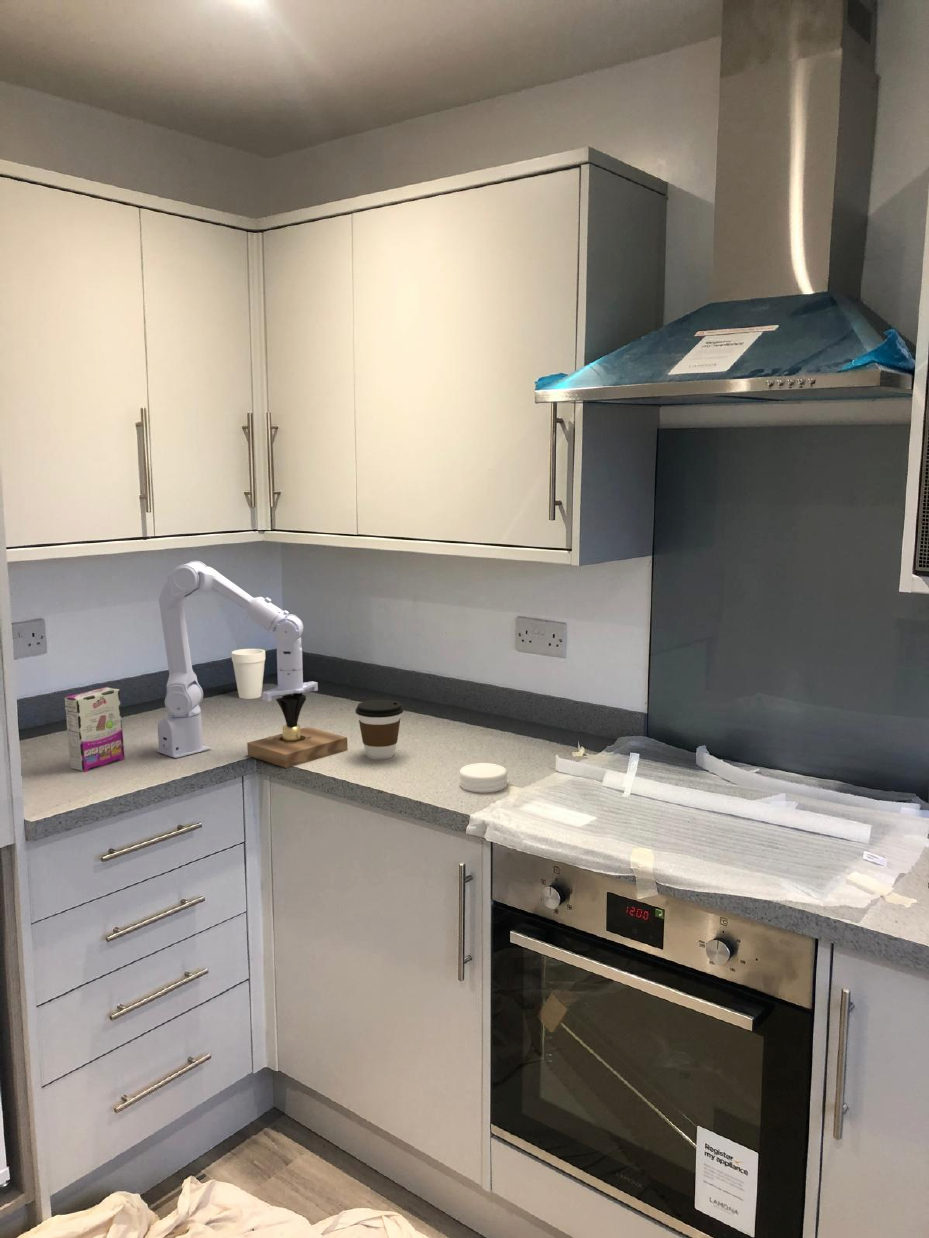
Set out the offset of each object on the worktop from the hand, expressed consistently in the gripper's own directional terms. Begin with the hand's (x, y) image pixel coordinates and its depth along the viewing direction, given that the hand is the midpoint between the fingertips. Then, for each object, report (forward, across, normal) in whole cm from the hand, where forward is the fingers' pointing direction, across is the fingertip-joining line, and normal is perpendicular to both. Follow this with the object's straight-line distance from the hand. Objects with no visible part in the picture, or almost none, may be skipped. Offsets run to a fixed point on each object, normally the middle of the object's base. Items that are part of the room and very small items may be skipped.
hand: (291, 725), depth 225 cm
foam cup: (+6, +26, +52) cm, 58 cm away
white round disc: (+6, +11, -49) cm, 51 cm away
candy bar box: (+6, -35, +25) cm, 43 cm away
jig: (+6, 0, -2) cm, 6 cm away
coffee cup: (+6, +11, -18) cm, 22 cm away
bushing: (+6, 0, 0) cm, 6 cm away
